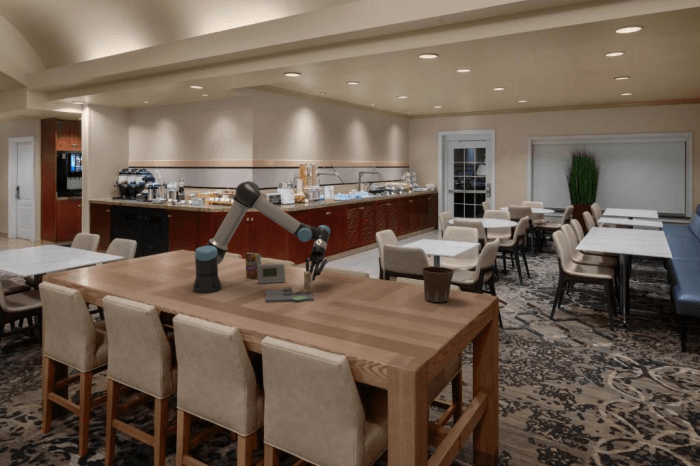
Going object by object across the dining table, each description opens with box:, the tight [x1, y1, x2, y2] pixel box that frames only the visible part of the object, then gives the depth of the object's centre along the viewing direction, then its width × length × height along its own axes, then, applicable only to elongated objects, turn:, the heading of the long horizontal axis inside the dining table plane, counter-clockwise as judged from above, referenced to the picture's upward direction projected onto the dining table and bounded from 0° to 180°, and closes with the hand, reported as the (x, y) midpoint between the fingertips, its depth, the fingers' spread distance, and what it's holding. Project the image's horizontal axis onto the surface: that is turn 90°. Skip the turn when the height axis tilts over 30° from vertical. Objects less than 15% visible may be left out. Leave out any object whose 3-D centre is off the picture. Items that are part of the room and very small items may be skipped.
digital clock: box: [257, 263, 286, 285], centre depth 289 cm, size 16×9×11 cm, turn 97°
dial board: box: [265, 288, 314, 303], centre depth 258 cm, size 24×23×3 cm
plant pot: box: [421, 266, 455, 303], centre depth 253 cm, size 16×16×16 cm
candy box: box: [245, 252, 262, 280], centre depth 300 cm, size 9×4×15 cm, turn 61°
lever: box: [281, 270, 312, 294], centre depth 260 cm, size 15×5×11 cm, turn 109°
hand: (309, 285), depth 265 cm, fingers closed
